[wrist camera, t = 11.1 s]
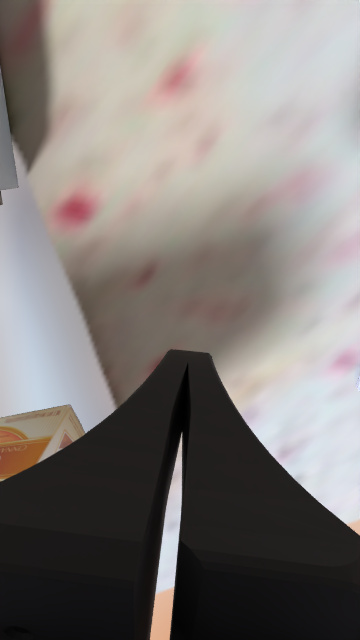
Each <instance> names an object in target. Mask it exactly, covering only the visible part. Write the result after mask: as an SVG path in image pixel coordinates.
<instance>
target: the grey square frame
mask: <svg viewBox="0 0 360 640" xmlns="http://www.w3.org/2000/svg"><path fill="white" fill-rule="evenodd" d="M11 188H18V181H17V175H16V168H15V161H14V154H13V148H12V141H11V134H10V127H9V121H8V114H7V107H6V101H5V94H4V87H3V80H2V74H1V67H0V190H4V189H11ZM2 204H3V203H2V198H1V191H0V205H2Z"/></svg>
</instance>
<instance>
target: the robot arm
mask: <svg viewBox="0 0 360 640" xmlns="http://www.w3.org/2000/svg"><path fill="white" fill-rule="evenodd" d="M357 388H358V390H359V391H360V377H359V379H358V382H357ZM181 434H182V507H181V521H180V532H179V543H178V554H177V565H176V576H175V587H174V599H173V609H172V620H171V631H170V640H360V535H358V534H357V533H356V532H355V531H353V530H352V529H351V528H350V527H348V526H347V525H346V524H345V523H344V522H342V521H341V520H340V519H339V518H338V517H336V516H335V515H334V514H333V513H332V512H330V511H329V510H328V509H327V508H325V507H324V506H323V505H322V504H321V503H319V502H318V501H317V500H316V499H315V498H314V497H313V496H312V495H311V494H310V493H308V492H307V491H306V490H305V489H304V488H303V487H302V486H301V485H300V484H299V483H298V482H297V481H296V480H295V479H294V478H293V477H292V476H291V475H290V474H289V473H288V472H287V471H286V470H285V469H284V468H283V467H282V466H281V465H280V464H279V463H278V462H277V461H276V459H275V458H274V457H273V456H272V455H271V454H270V453H269V452H268V450H267V449H266V448H265V447H264V446H263V444H262V443H261V442H260V441H259V440H258V438H257V437H256V436H255V434H254V433H253V432H252V431H251V429H250V428H249V426H248V425H247V424H246V422H245V421H244V419H243V418H242V416H241V415H240V413H239V412H238V410H237V408H236V407H235V405H234V404H233V402H232V400H231V399H230V397H229V395H228V393H227V391H226V389H225V388H224V386H223V384H222V382H221V380H220V378H219V375H218V373H217V371H216V368H215V366H214V363H213V360H212V356H211V355H210V354H209V353H203V352H193V351H182V350H172V349H171V350H169V351H168V352H167V353H166V355H165V356H164V358H163V359H162V361H161V362H160V364H159V365H158V366H157V367H156V369H155V370H154V371H153V372H152V374H151V375H150V376H149V377H148V378H147V379H146V381H145V382H144V383H143V384H142V385H141V386H140V387H139V388H138V389H137V390H136V391H135V392H134V393H133V394H132V395H131V396H130V397H129V398H128V399H127V400H126V401H125V402H124V403H123V404H122V405H121V406H120V407H119V408H118V409H116V410H115V411H114V412H113V413H112V414H111V415H109V416H108V417H107V418H106V419H104V420H103V421H102V422H101V423H99V424H98V425H97V426H95V427H94V428H93V429H91V430H90V431H88V432H87V433H86V434H84V435H83V436H82V437H80V438H79V439H77V440H76V441H74V442H73V443H71V444H70V445H68V446H66V447H65V448H63V449H61V450H60V451H58V452H56V453H55V454H53V455H51V456H50V457H48V458H46V459H44V460H42V461H41V462H39V463H37V464H35V465H33V466H31V467H29V468H28V469H26V470H23V471H21V472H19V473H17V474H15V475H13V476H11V477H9V478H7V479H5V480H3V481H1V482H0V640H150V632H151V624H152V616H153V608H154V600H155V592H156V583H157V575H158V567H159V559H160V551H161V543H162V535H163V527H164V519H165V511H166V505H167V499H168V494H169V489H170V485H171V480H172V475H173V471H174V466H175V461H176V457H177V452H178V448H179V443H180V438H181Z"/></svg>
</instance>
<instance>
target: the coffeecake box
mask: <svg viewBox="0 0 360 640" xmlns="http://www.w3.org/2000/svg"><path fill="white" fill-rule="evenodd" d="M84 434H85V432H84V430H83V427H82V425H81V423H80V421H79V420H78V418H77V416H76V415H75V413H74V411H73V409H72V407H71V405H64V406H58V407H53V408H48V409H44V410H38V411H32V412H27V413H22V414H17V415H12V416H7V417H2V418H0V482H1V481H3V480H5V479H7V478H9V477H11V476H13V475H15V474H17V473H19V472H21V471H23V470H26V469H28V468H29V467H31V466H33V465H35V464H37V463H39V462H41V461H42V460H44V459H46V458H48V457H50V456H51V455H53V454H55V453H56V452H58V451H60V450H61V449H63V448H65V447H66V446H68V445H70V444H71V443H73V442H74V441H76V440H77V439H79V438H80V437H82V436H83V435H84Z"/></svg>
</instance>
